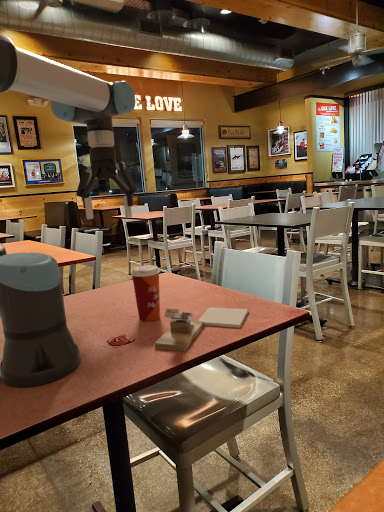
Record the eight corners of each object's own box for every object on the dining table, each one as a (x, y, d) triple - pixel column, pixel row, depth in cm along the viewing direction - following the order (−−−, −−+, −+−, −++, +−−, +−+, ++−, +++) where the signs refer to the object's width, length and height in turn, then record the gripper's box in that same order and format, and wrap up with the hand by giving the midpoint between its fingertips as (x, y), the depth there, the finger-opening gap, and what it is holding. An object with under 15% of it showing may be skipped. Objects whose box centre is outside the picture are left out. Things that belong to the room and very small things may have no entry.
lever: (177, 318, 78) (178, 309, 79) (160, 316, 80) (161, 308, 80) (195, 321, 89) (196, 313, 90) (180, 320, 91) (181, 312, 91)
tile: (240, 327, 88) (239, 324, 88) (197, 324, 92) (196, 321, 92) (248, 312, 99) (248, 309, 98) (209, 309, 102) (209, 307, 102)
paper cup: (159, 323, 95) (154, 271, 92) (131, 323, 96) (125, 271, 94) (167, 312, 102) (163, 264, 99) (141, 312, 104) (136, 264, 101)
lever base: (184, 351, 78) (183, 334, 77) (155, 348, 80) (153, 332, 80) (204, 326, 91) (203, 311, 90) (178, 324, 93) (177, 310, 93)
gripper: (145, 144, 109) (150, 215, 113) (74, 151, 116) (81, 218, 120) (133, 142, 102) (140, 218, 106) (59, 150, 109) (67, 220, 113)
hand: (109, 218), depth 113 cm, fingers open, 13 cm apart
